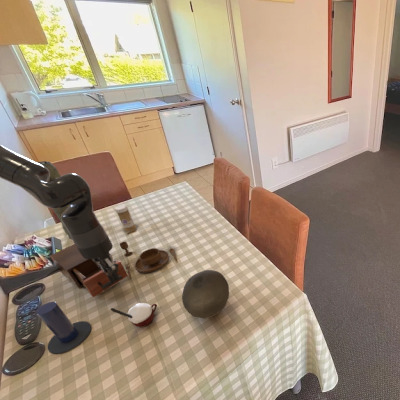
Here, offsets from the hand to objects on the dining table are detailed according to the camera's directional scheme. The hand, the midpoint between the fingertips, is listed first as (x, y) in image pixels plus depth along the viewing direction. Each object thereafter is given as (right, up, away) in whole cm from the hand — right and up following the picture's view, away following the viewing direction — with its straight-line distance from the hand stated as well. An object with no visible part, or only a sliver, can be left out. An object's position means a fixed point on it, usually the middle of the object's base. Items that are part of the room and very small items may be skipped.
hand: (115, 280), depth 87 cm
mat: (-7, -15, -8) cm, 18 cm away
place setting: (-2, +3, +21) cm, 22 cm away
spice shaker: (-7, -14, -9) cm, 18 cm away
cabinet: (-22, -1, +16) cm, 27 cm away
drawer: (-11, -3, +10) cm, 15 cm away
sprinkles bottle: (-21, +12, +37) cm, 45 cm away
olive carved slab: (-44, +11, +36) cm, 58 cm away
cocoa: (+12, -12, -4) cm, 18 cm away
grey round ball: (+32, -10, 0) cm, 34 cm away
